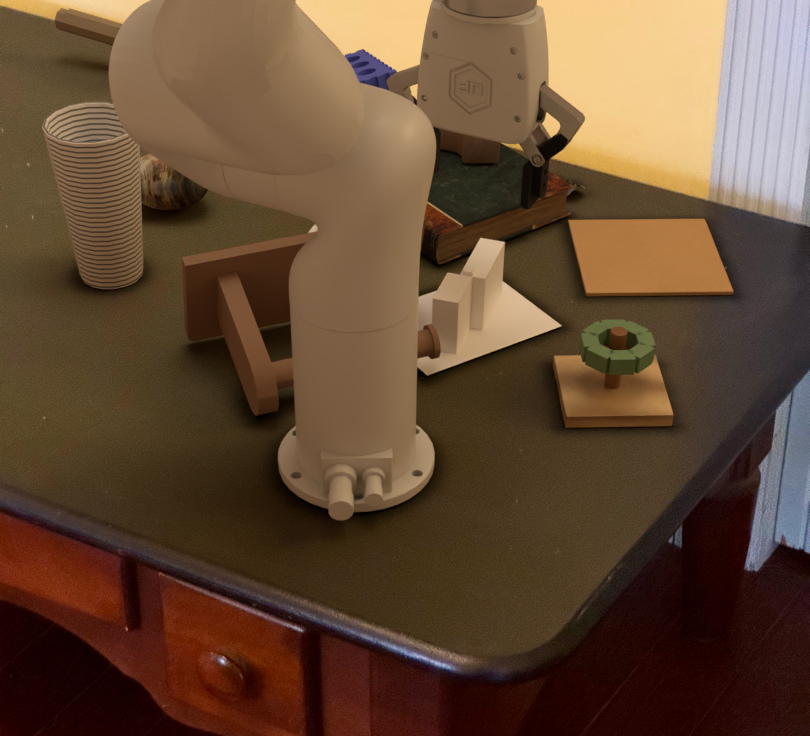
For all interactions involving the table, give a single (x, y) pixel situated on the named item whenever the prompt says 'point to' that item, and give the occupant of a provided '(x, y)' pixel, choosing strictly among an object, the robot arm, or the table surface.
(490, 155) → the wooden block
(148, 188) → the seashell
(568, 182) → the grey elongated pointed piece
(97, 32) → the decorative object
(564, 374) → the ring peg
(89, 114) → the cup
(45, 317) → the table surface
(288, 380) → the toilet paper hanger
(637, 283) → the cork mat
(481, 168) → the book
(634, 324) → the ring
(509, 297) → the napkin holder
